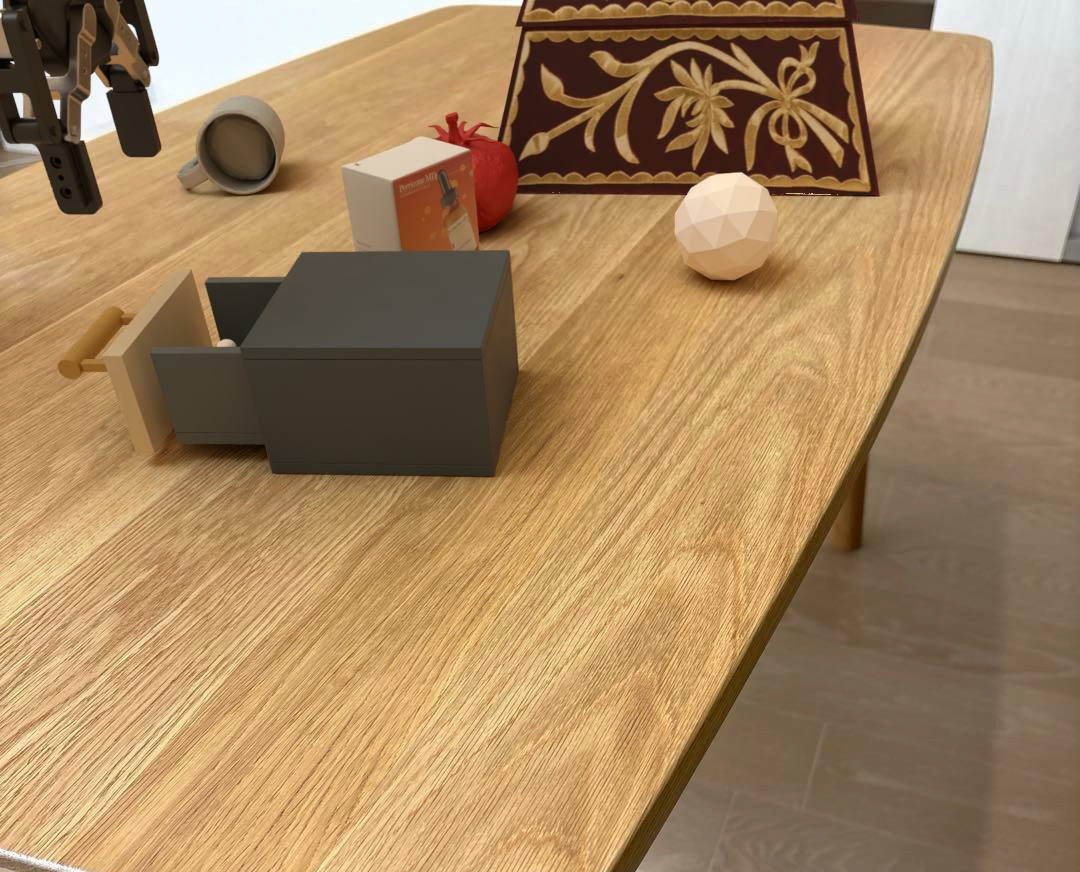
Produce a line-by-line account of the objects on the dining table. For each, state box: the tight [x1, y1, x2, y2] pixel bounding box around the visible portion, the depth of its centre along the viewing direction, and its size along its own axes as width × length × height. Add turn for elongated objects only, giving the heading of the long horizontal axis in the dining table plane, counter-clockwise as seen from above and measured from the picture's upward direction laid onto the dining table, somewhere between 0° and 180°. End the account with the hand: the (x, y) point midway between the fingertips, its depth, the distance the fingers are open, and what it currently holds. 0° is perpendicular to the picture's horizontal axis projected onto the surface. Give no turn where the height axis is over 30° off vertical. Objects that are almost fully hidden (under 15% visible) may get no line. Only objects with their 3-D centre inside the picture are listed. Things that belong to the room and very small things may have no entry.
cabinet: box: [240, 249, 520, 477], centre depth 66 cm, size 14×13×9 cm
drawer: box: [57, 269, 286, 455], centre depth 67 cm, size 17×11×7 cm
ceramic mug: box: [176, 95, 286, 195], centre depth 102 cm, size 11×8×8 cm
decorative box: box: [496, 0, 881, 197], centre depth 97 cm, size 35×19×20 cm, turn 81°
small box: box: [340, 135, 481, 252], centre depth 79 cm, size 8×6×10 cm
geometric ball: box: [674, 173, 779, 281], centre depth 80 cm, size 8×8×8 cm
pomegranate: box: [427, 111, 519, 233], centre depth 91 cm, size 10×10×9 cm
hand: (114, 182), depth 61 cm, fingers open, 8 cm apart
